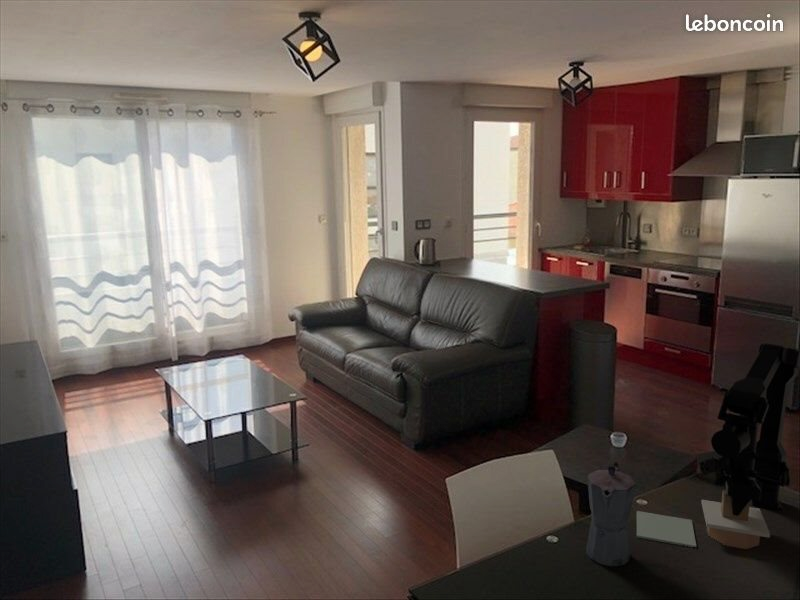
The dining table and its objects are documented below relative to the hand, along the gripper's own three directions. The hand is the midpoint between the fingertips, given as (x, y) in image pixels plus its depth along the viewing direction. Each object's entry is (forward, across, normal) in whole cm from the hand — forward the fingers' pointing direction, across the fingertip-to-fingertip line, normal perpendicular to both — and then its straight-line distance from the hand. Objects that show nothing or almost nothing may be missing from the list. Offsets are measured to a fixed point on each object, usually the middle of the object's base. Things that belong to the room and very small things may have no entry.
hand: (734, 511), depth 139 cm
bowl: (+6, 0, 0) cm, 6 cm away
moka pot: (+6, +18, -26) cm, 32 cm away
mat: (+6, +2, -14) cm, 15 cm away
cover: (+2, 0, 0) cm, 2 cm away
